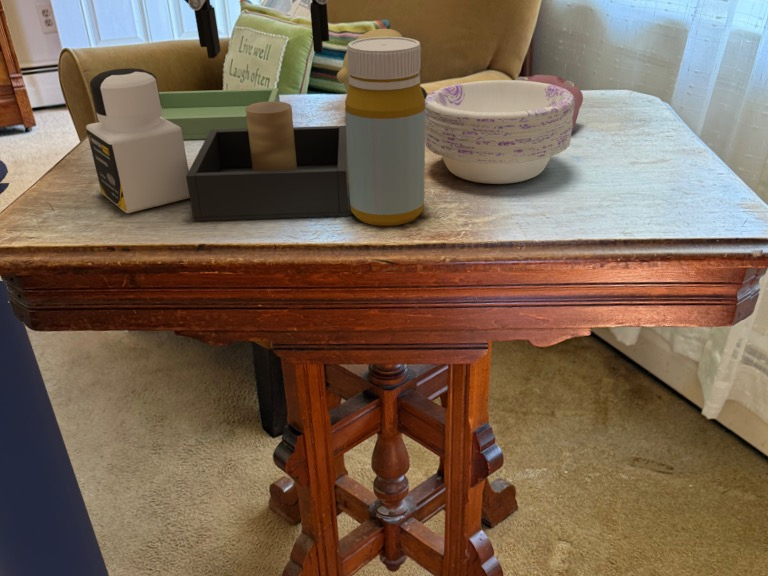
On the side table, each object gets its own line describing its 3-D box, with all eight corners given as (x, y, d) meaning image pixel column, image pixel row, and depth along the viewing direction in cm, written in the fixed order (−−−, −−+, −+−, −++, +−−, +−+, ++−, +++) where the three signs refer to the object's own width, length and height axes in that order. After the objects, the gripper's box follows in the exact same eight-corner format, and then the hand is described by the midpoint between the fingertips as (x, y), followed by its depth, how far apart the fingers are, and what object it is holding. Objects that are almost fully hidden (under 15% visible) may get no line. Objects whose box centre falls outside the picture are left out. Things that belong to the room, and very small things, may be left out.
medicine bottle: (101, 194, 78) (71, 71, 71) (166, 179, 81) (143, 60, 74) (126, 215, 73) (96, 85, 66) (194, 198, 76) (173, 72, 69)
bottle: (418, 230, 68) (419, 52, 60) (343, 225, 70) (333, 51, 61) (428, 201, 74) (430, 36, 66) (359, 198, 75) (352, 35, 67)
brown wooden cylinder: (253, 196, 75) (242, 114, 71) (257, 180, 79) (248, 101, 74) (297, 194, 75) (289, 112, 71) (299, 179, 79) (292, 100, 74)
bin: (193, 221, 71) (185, 175, 69) (216, 170, 83) (210, 129, 81) (348, 216, 71) (346, 170, 69) (348, 165, 84) (346, 125, 81)
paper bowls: (424, 149, 88) (425, 77, 83) (557, 148, 87) (564, 75, 82) (422, 196, 75) (422, 115, 71) (576, 196, 74) (587, 113, 70)
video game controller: (577, 141, 94) (590, 83, 93) (569, 133, 90) (583, 72, 89) (502, 132, 98) (513, 76, 97) (491, 124, 94) (503, 65, 92)
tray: (128, 141, 93) (124, 119, 91) (152, 111, 104) (148, 92, 103) (272, 136, 93) (269, 115, 92) (280, 107, 104) (278, 88, 103)
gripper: (347, -180, 63) (359, 40, 73) (141, -170, 63) (180, 49, 73) (347, -185, 57) (360, 56, 67) (119, -175, 57) (164, 66, 67)
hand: (266, 52), depth 70 cm, fingers open, 9 cm apart
